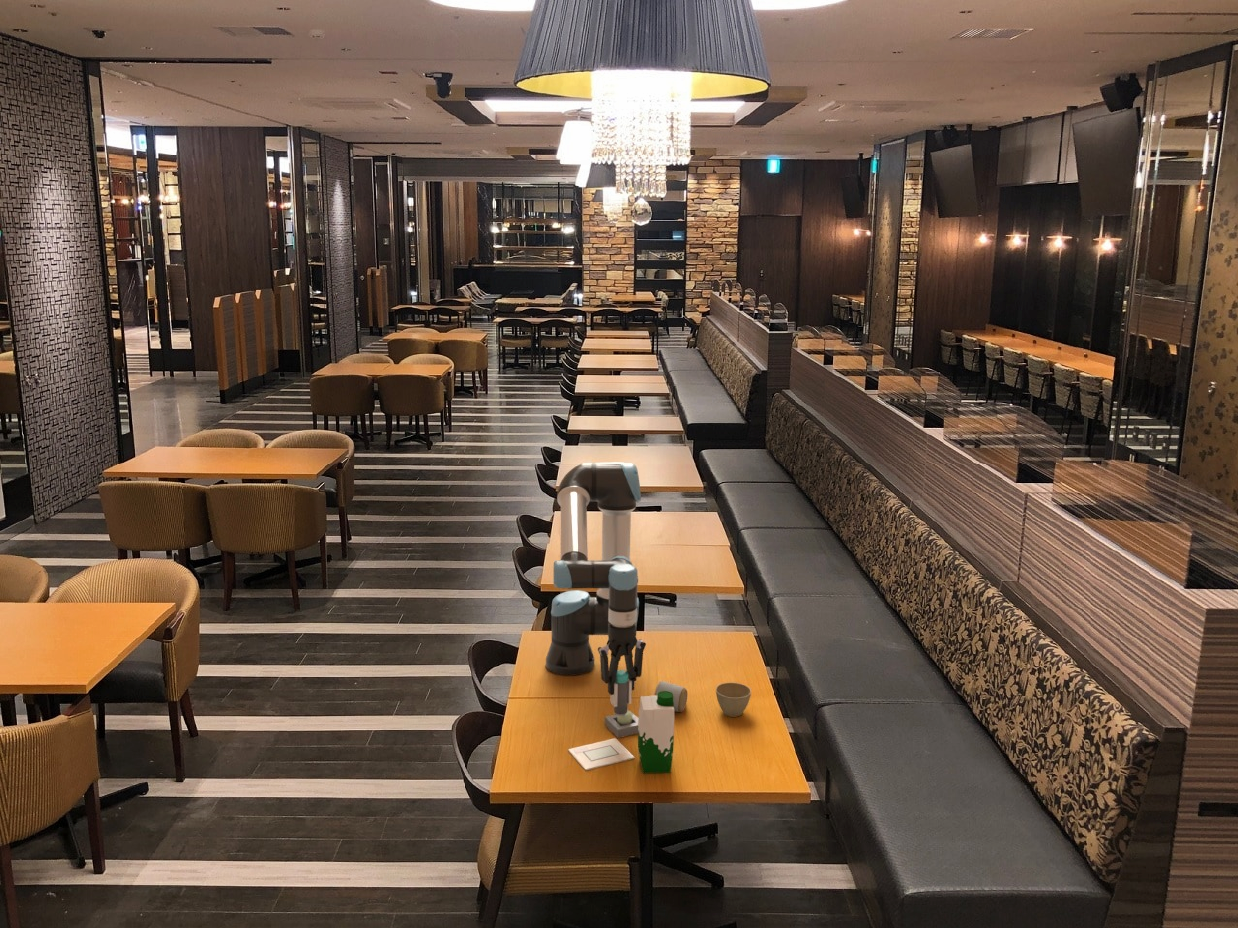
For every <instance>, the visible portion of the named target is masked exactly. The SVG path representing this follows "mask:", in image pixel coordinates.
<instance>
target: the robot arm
mask: <svg viewBox="0 0 1238 928" xmlns="http://www.w3.org/2000/svg"><path fill="white" fill-rule="evenodd" d="M641 493H642V492H641V486H640V478H639V470H638V468H637V466H636V465H635V464H634V463H629V462H627V463H626V462H620V461H619V462H584V463H580V464H578V465H576V466H574V467H573V468H571V469H570V470H569V471H568V472H566V474H565V475H564V476H563V478H562V479H561V482H560V483H559V486H558V487H557V494H556V495H557V497H556V498H557V504H558V505H559V507H560V560H555V561H554V562H553V579H552V580H553V586H554V587H555V588H556V589H567V590H568V591H567V590H566V591H565V592H561V593H560V594H558V595H555V597H554V598H553V599H552V603H551V611H550V614H551V642H550V646H549V648H548V651H547V655H546V658H545V668H546V669H547V670H548V671H549V672H551V673H554V674H556V675H560V676H561V675H562V676H578V675H579V676H580V675H583V674H586V673H589V672H591V671H592V670H593V669H594V667H595V657H594V653H593V649H592V647H591V643H590V636H607V637H608V639H607V642H606V645H604V646H603V647H601V646H599V647H598V648H597V651H598V654H599V658H600V659H599V662H600V679H601V681H602V682H603V683H605V684H607V693H608V694H609V695H610V698H609V699H610V702H609V703H610V704H611V705H612V706H613V708H614V707H617V696H618V684H617V683H616V682H615V681H616V675H617V671H619V670H618V669H619V664H620V661H621V658H622V657H624V662H625V668H626V671H627V672H628V705H630V704H632V693H633V692H632V691H634V690H635V683H636V681H637V678H640V677H641V676H642V674H643V673H642V671H643V660H644V651H645V647H646V645H647V643H646V642H645V641H644V640H643V639H638V638H637V630H638V629H637V627H638V626H637V624H638V617H639V607H640V601H639V597H638V584H639V576H638V569H637V567H636V566H634V565H633V562H632V561H631V526H632V525H631V524H632V523H631V522H632V520H631V519H632V518H631V517H632V513H633V511H634V510H636V508H637V503H639V502H641V501H642V496H641ZM590 502H597V508H598V510H599V511H601V512H602V527H601V528H602V532H601V533H602V535H601V537H602V539H601V540H602V541H601V544H602V545H601V560H589V559H588V558H589V556H588V555H589V554H588V553H589V552H588V511H587V507H588V505H589V503H590ZM571 589H575V590H571ZM577 589H578V590H577ZM581 589H597V590H596V597H595V596H591V595H590V594H589V592H587V591H585V590H581ZM634 648H635V650H634ZM609 650H610V652H611V653H610V662H609V656H608V655H609ZM633 650H634V655H633ZM633 657H634V660H633Z"/></svg>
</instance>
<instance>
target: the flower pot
mask: <svg viewBox="0 0 1238 928" xmlns="http://www.w3.org/2000/svg"><path fill="white" fill-rule="evenodd" d="M715 694H716V700H717V702H718V705H719V708H720V709H721V711H722V713H723V714H724V715H725V716H726V717H731V718H736V717H740V716H741V715H742V714H743V713H744V711H745V710H746V708H747V707H748V705H749V702H750V700H751V695H752V689H751V688H750V687H749V686H748V685H746V684H744V683H743V684H742V683H739V682H723V683H721V684H718V685H717V686H716V687H715Z"/></svg>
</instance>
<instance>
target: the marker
mask: <svg viewBox="0 0 1238 928" xmlns="http://www.w3.org/2000/svg"><path fill="white" fill-rule="evenodd" d="M615 682H616V683H617V684H618V696H617V707H614V706H613V708H614V709H613V712H614V713H615V715H617V716H625V714H626V713H627V710H628V705H629V704H628V672H627V670H622V669H620V670H617V675H616V681H615Z"/></svg>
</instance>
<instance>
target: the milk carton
mask: <svg viewBox="0 0 1238 928" xmlns="http://www.w3.org/2000/svg"><path fill="white" fill-rule="evenodd" d="M639 699H640V700H639V705H638V706H639V707H638V733H637V750H638V755H639V759H640V760H639V761H640V765H641V770H642V774H665V773H666V774H670V773H672V772H671V771H672V765H673V764H672V763H673V755H674V743H675V741H674V740H675V739H674V737H675V711H674V701H673V693H671V692H668V691H662V692H659V693H658V696H655V694H654V695H652V694H651V695H647V696H646V695H644V696H643V695H641V696H640V698H639Z"/></svg>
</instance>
